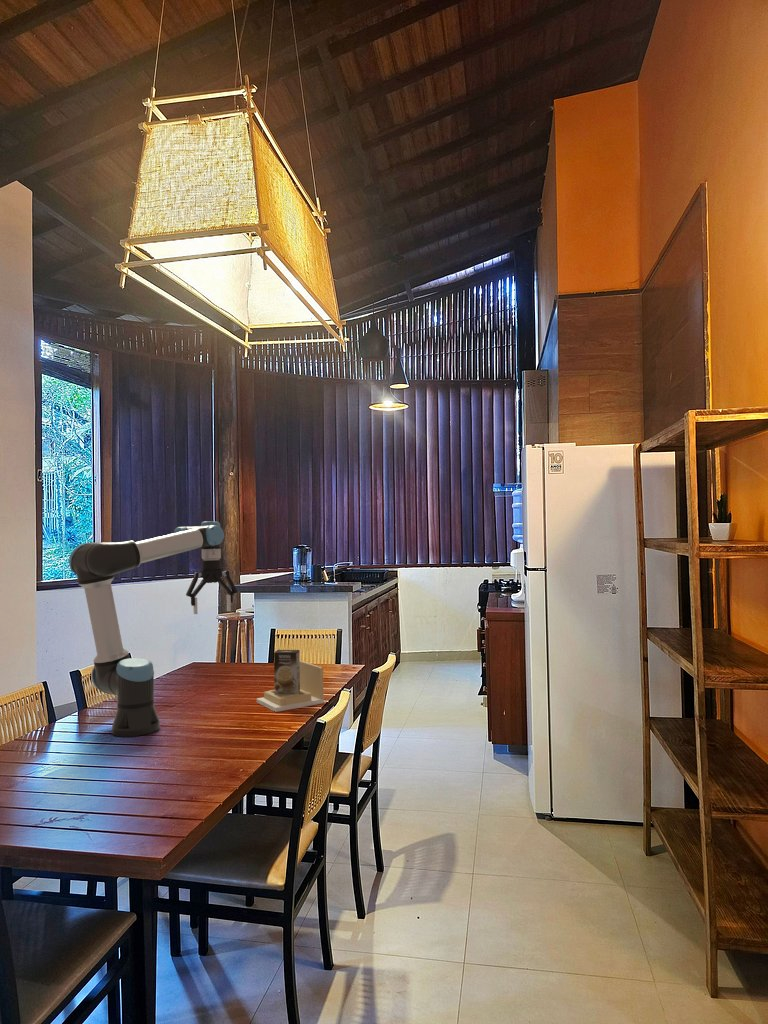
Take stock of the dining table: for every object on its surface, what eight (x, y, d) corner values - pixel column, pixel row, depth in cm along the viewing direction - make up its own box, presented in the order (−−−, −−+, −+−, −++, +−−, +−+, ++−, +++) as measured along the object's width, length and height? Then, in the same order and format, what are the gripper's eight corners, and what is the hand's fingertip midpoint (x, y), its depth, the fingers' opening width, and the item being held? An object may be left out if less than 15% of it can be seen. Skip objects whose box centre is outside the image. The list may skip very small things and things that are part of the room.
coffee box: (273, 694, 248) (272, 652, 249) (277, 690, 254) (277, 649, 255) (297, 694, 247) (296, 652, 248) (300, 690, 254) (299, 649, 254)
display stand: (275, 712, 238) (274, 675, 239) (256, 702, 253) (255, 667, 254) (323, 703, 249) (322, 667, 250) (303, 694, 264) (302, 660, 265)
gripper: (182, 561, 252) (183, 616, 251) (244, 558, 266) (245, 610, 265) (177, 560, 258) (178, 614, 258) (237, 558, 272) (238, 609, 271)
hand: (212, 612), depth 261 cm, fingers open, 13 cm apart
